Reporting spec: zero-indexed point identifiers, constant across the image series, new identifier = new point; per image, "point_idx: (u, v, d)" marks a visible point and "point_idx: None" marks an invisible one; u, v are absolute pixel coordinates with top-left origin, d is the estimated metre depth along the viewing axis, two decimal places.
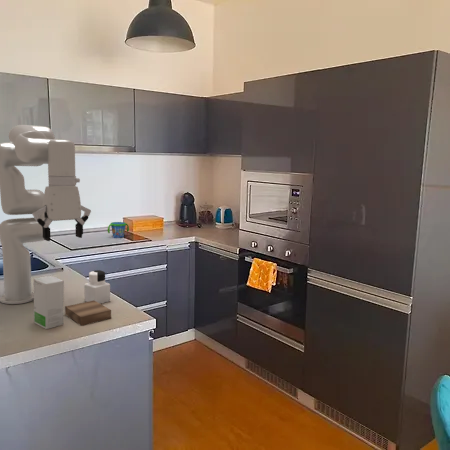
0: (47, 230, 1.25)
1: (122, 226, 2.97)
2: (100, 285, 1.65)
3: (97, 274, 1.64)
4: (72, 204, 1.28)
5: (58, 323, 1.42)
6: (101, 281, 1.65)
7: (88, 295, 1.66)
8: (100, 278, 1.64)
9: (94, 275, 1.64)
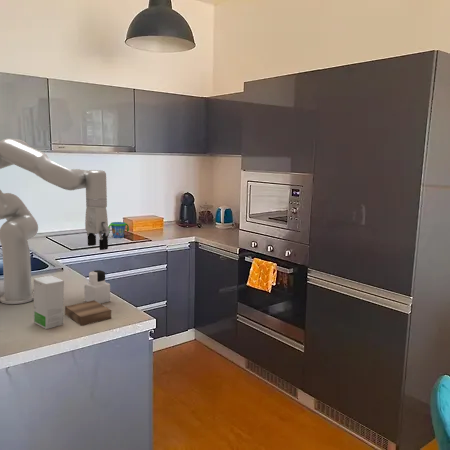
0: (106, 241, 1.61)
1: (122, 226, 2.97)
2: (100, 285, 1.65)
3: (97, 274, 1.64)
4: None
5: (58, 323, 1.42)
6: (101, 281, 1.65)
7: (88, 295, 1.66)
8: (100, 278, 1.64)
9: (94, 275, 1.64)
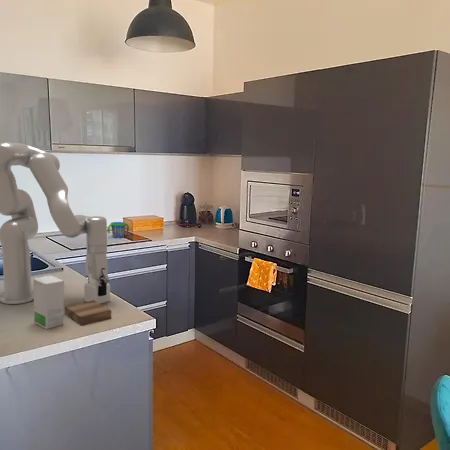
0: (105, 287, 1.65)
1: (122, 226, 2.97)
2: None
3: None
4: None
5: (58, 323, 1.42)
6: (101, 281, 1.65)
7: (88, 295, 1.65)
8: None
9: None
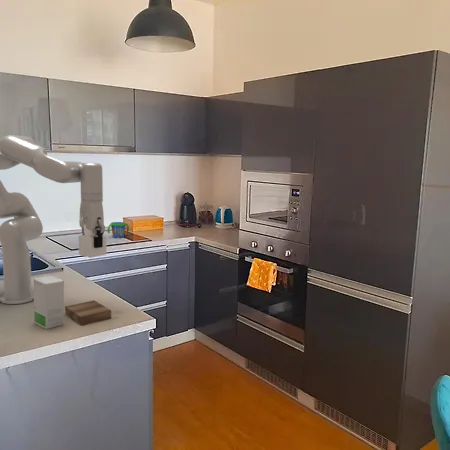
0: None
1: (122, 226, 2.97)
2: None
3: None
4: None
5: (58, 323, 1.42)
6: None
7: (82, 248, 1.55)
8: None
9: None
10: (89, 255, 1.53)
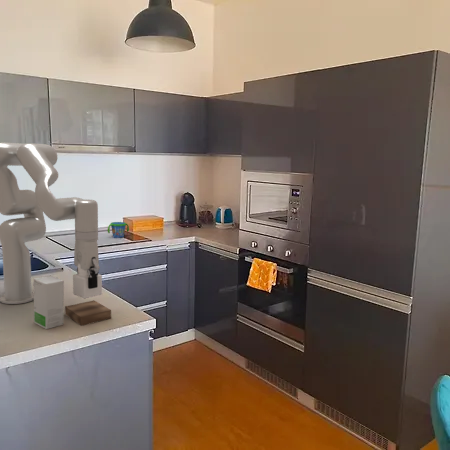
0: (96, 278, 1.47)
1: (122, 226, 2.97)
2: None
3: None
4: None
5: (58, 323, 1.42)
6: None
7: (77, 288, 1.48)
8: None
9: None
10: (83, 296, 1.46)
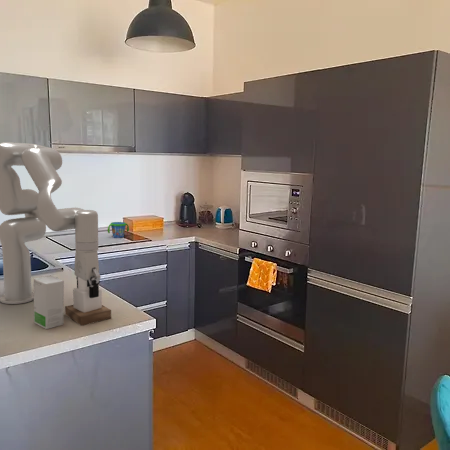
0: (97, 287, 1.47)
1: (122, 226, 2.97)
2: None
3: None
4: None
5: (58, 323, 1.42)
6: None
7: (76, 302, 1.49)
8: None
9: None
10: (83, 310, 1.47)
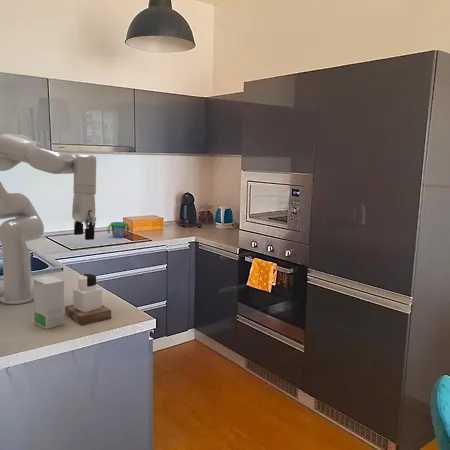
0: (93, 230, 1.51)
1: (122, 226, 2.97)
2: (90, 290, 1.48)
3: (87, 278, 1.47)
4: None
5: (58, 323, 1.42)
6: (91, 286, 1.48)
7: (76, 302, 1.49)
8: (90, 282, 1.48)
9: (83, 279, 1.47)
10: (83, 310, 1.47)
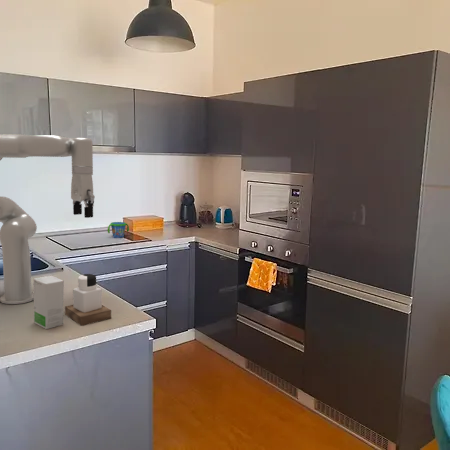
0: (92, 208, 1.61)
1: (122, 226, 2.97)
2: (90, 290, 1.48)
3: (87, 278, 1.47)
4: None
5: (58, 323, 1.42)
6: (91, 286, 1.48)
7: (76, 302, 1.49)
8: (90, 282, 1.48)
9: (83, 279, 1.47)
10: (83, 310, 1.47)
